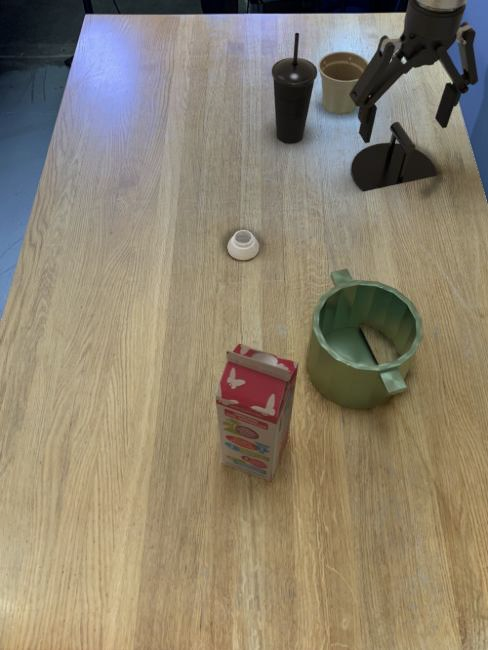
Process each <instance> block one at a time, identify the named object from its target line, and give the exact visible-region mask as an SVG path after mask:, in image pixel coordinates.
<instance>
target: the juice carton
mask: <svg viewBox="0 0 488 650" xmlns="http://www.w3.org/2000/svg"><path fill="white" fill-rule="evenodd" d="M298 368H299V362H297V361H294V360H291V359H288V358H284V357H282V356H279V355H276V354H273V353H269V352H267V351H264V350H262V349H261V350H260V349H257V348H255V347H252V346H248V345H245V344H243V343H238V344H237V345H236V346H235V348H234V349H233V350H232V351H231V350H229V349H226V363H225V366H224V368H223V371H222V374H221V377H220V380H219V383H218V386H217V389H216V392H215V395H214V396H215V397H214V398H215V406H216V415H217V427H218V437H219V447H220V448H219V449H220V457H221V464H222V465H225V466H228V467H230V468H232V469H236V470H238V471H241V472H244V473H247V474H249V475H250V476H254V477H256V478H259V479H262V480H265V481H267V482H269V483H272V481H273V479H274V476H275V474H276V470H277V468H278V466H279V463H280V460H281V457H282V455H283V452H284V450H285V446H286V444H287V442H288V438H289V435H290V430H291V429H290V428H291V422H292V414H293V407H294V399H295V393H296V385H297V378H298Z"/></svg>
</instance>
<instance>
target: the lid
mask: <svg viewBox="0 0 488 650" xmlns="http://www.w3.org/2000/svg"><path fill="white" fill-rule="evenodd" d="M389 130H390V132H391V136H390V139H389V142H381V143H375V144H371V145H368V146H366V147H364V148H363V149H361V150H360V151H359V152H358V153H356V155H355V156H354V158H353V159H352V161H351V165H350V175H351V178H352V180H353V182H354V183H355V185H356V186H357V187H358V189H359V190H361V192H369V191H374V190H379V189H383V188H388V187H392V186H397V185H402V184H406V183H410V182H416V181H418V180H419V181H420V180H424V179H428V178H433V177H437V176H438V173H437V169H436V166H435V164H434V163H433V161H432V160H431V159H430V157H428V156H427V155H426V154H425V153H423V152H422V151H420V149H419V150H418V149H417V148H416V144H415V143H414V142H413V140H412V139H411V137H410V136H409V134H408V133H407V132H406V130H405V129H404V127H403V126H402V125H401V123H400V122H399V121H395V122H393V123H391V125H390V127H389ZM396 141H397V142H398V143H397V142H396Z"/></svg>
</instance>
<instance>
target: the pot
mask: <svg viewBox="0 0 488 650" xmlns="http://www.w3.org/2000/svg"><path fill="white" fill-rule="evenodd" d="M329 278H330V279H331V281H332V284H333V287H332V288H330V289H329V290H327V291H326V292H324V293H323V294H321V297H320V298H319V300H318V301H317V303H316V305H315V307H314V308H313V312H312V319H311V324H310V330H309V331H310V332H309V338H308V343H307V351H306V366H305V367H306V370H307V374H308V377H309V380H310V382H311V383H312V385H313V387H314V388H315V389H316V390H317V391H318V393H319V394H321V395H322V396H323V397H324V398H325V399H326V400H329V401H330V402H331V403H334V404H336V405H338V406H341V407H344V408H347V409H352V410H353V409H355V410H368V409H372V408H376V407H379V406H382V405H384V404H386V403H387V402H389V401H390V400H392V399H393V398H394V397H395V395H397V394H400V393H403V392H406V391H407V389H408V386H407V384H406V382H405V378H406V376H407V374H408V372H409V369H410V367H411V365H412V362H413V360H414V358H415V356H416V354H417V351H418V349H419V347H420V345H421V342H422V340H423V337H424V332H423V319H422V317H421V315H420V314H419V313H420V312H418V310H417V308H416V306H415V304H414V302H412V301H411V299H409V298H408V297H407V296H406V295H405V294H404V293H402V292H401V291H400V290H399V289H397V288H395V287H392V286H390V285H387V284H385V283H382V282H380V281H375V280H374V281H373V280H363V279H353V277H352V275H351V273H350V271H349V269H348V268H343V269H338V270H335V271H331V272H330V275H329ZM361 325H362V326H367V327H369V328H371V329H374V330H376V331H379V332H380V333H381V334H383V335H384V336H385V337H386V338H387V339H389V340H390V341H391V342H392V343H393V345H394V347H395V349H396V351H397V353H398V355H399V357H398V358H397V359H395V360H392V361H387V362H383V363H380V364H379V362H378V360H377V357H376V356H375V353H374V351H373V350H372V348H371V346H370V344H369V341H368V339H367V337H366V335H365V333H364V331H363V329H362V327H361Z"/></svg>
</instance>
